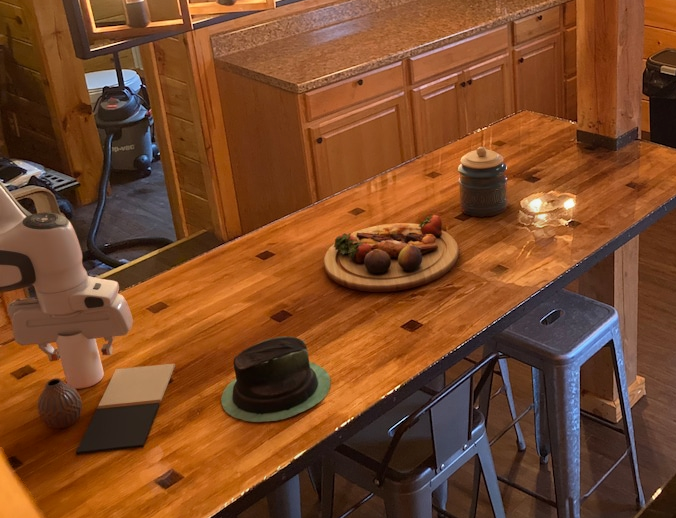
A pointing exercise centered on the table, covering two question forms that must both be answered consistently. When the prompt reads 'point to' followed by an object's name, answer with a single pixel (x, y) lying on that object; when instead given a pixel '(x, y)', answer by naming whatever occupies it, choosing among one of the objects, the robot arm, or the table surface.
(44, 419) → the vase
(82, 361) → the can
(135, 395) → the sorting mat
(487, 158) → the canister
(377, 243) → the wooden plate
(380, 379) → the table surface
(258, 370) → the fedora hat
